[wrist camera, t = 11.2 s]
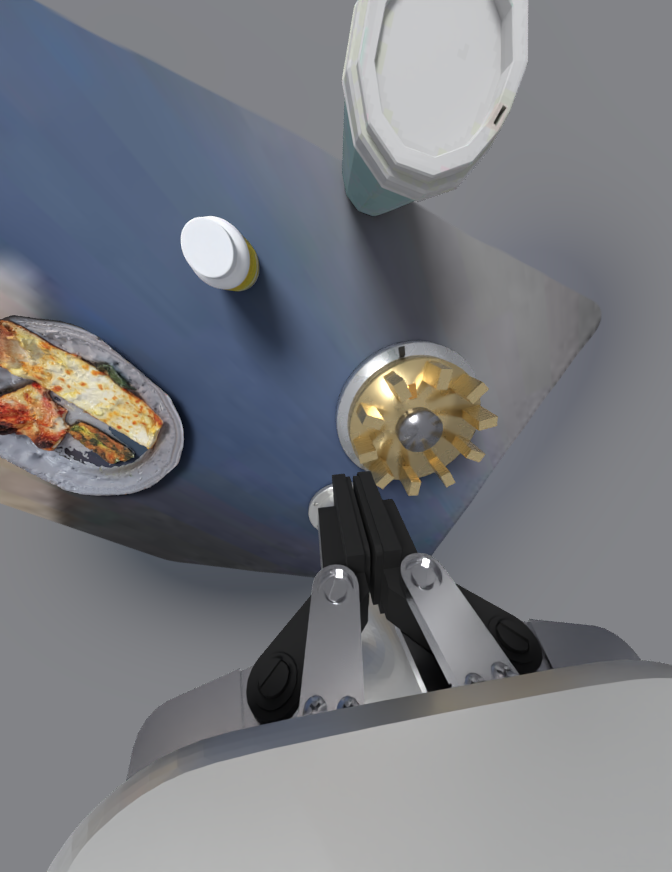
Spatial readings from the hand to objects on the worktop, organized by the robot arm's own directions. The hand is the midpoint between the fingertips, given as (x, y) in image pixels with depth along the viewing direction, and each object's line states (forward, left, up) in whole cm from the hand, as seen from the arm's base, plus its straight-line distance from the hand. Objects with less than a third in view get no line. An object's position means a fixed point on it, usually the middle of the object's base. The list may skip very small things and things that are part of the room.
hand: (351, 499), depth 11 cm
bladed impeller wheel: (-9, -13, -25) cm, 30 cm away
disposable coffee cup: (+19, -8, -28) cm, 34 cm away
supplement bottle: (+12, +8, -28) cm, 31 cm away
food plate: (-4, +32, -28) cm, 43 cm away
